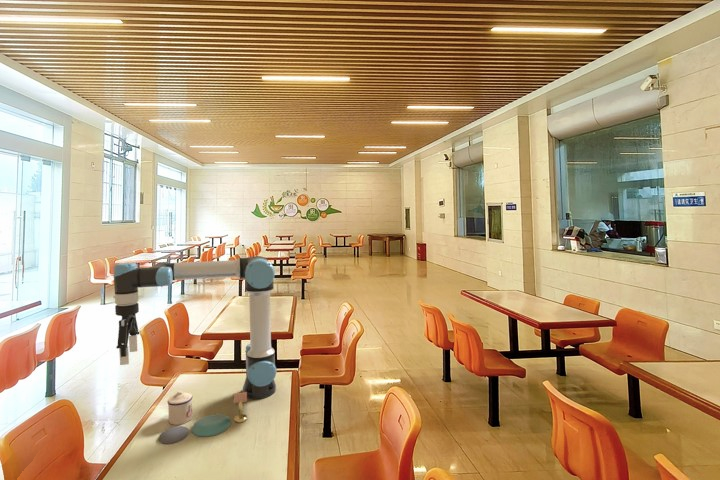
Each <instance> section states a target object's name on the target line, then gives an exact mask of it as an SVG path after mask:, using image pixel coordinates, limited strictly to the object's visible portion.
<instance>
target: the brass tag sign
mask: <svg viewBox="0 0 720 480" xmlns="http://www.w3.org/2000/svg"><path fill="white" fill-rule="evenodd" d="M247 401H248V398H247V392H243V391H242V392H236V393H233V403H234V404H236V403H238V415H236V416H234V419H233V420H234V421H233V422H235V423H236V424H241V423H244V422H246V421H248V415H247V414H244V413H243V412H244V411H243V402H247Z"/></svg>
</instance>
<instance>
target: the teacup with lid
mask: <svg viewBox="0 0 720 480" xmlns="http://www.w3.org/2000/svg"><path fill="white" fill-rule="evenodd" d="M167 404H168V405H167V407H168V409H167V410H168V422H169V424H170V425H175V426H178V425H179V426H181V425H183V424H186V423H188V422H189V421H191V420H192V419H193V395H192V393H190V392H186V391H185V392H183V390H178V391H177V393H175V394H172V395H171V396H170V397H169V398H168V400H167Z"/></svg>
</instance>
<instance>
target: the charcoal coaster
mask: <svg viewBox="0 0 720 480" xmlns="http://www.w3.org/2000/svg"><path fill="white" fill-rule="evenodd" d="M189 434H190V430H189V428H188V427H187V426H185V425H184V426H183V425H179V426H178V425H175V426H172V427H169V428H167V429H165V430H164V431H163V432H161V433H160V434H159V436H158V441H159V442H160V443H161V444H163V445H173V444H176V443H179V442H182V441H183V440H185V439H186V438H187V437H189Z"/></svg>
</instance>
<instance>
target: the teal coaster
mask: <svg viewBox="0 0 720 480" xmlns="http://www.w3.org/2000/svg"><path fill="white" fill-rule="evenodd" d="M230 425H231V418H230V417H229V416H227V415H225V414H211V415H207V416H205V417H202V418H200V419H198V420H197V421H196V422H194V423H193V425H192V427H191V432H192V434H193V435H194V436H196V437H199V438H200V437H201V438H207V437H209V438H210V437H213V436H217V435H220V434H222V433H224V432H225V431H226V430H227V429H229V428H230Z"/></svg>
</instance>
